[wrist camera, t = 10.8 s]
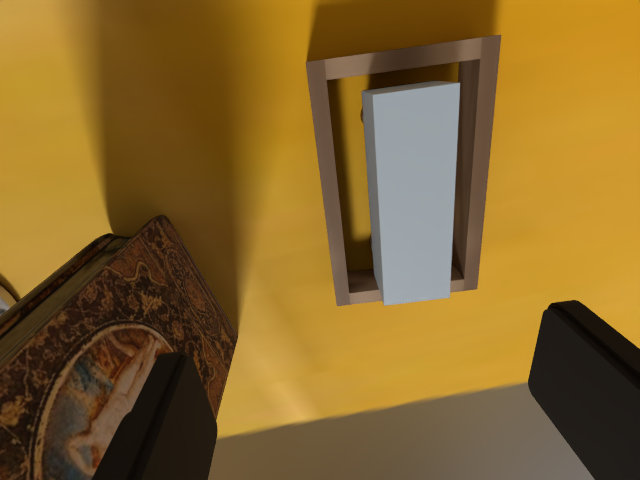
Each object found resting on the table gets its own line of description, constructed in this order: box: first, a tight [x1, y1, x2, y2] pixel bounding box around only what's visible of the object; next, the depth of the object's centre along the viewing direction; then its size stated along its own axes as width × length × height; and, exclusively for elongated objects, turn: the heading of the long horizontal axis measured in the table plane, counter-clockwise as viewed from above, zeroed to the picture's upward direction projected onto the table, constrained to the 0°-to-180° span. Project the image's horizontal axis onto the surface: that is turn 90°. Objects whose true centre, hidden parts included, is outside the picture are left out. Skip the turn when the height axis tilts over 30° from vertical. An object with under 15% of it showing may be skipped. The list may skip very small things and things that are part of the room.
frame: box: [306, 35, 501, 306], centre depth 28 cm, size 12×19×4 cm, turn 7°
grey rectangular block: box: [362, 81, 460, 306], centre depth 25 cm, size 15×5×4 cm, turn 7°
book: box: [0, 215, 238, 480], centre depth 22 cm, size 16×6×25 cm, turn 19°
